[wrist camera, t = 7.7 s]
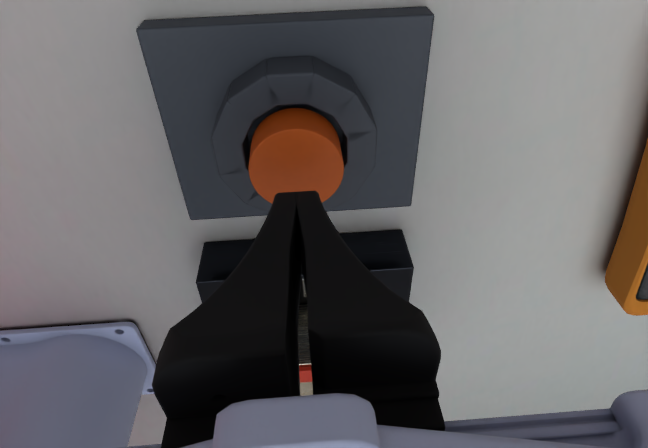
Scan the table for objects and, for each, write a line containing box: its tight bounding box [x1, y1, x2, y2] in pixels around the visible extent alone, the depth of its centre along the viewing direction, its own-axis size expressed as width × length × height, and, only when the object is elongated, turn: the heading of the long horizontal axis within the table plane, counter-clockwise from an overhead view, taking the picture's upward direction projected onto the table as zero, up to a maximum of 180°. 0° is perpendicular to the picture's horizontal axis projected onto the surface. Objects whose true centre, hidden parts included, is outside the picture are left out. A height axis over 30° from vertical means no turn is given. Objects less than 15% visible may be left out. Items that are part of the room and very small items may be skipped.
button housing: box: [136, 7, 434, 220], centre depth 19 cm, size 11×9×3 cm
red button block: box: [298, 305, 313, 396], centre depth 24 cm, size 5×2×4 cm, turn 1°
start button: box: [249, 108, 344, 203], centre depth 17 cm, size 4×4×2 cm
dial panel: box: [196, 230, 414, 305], centre depth 26 cm, size 11×9×3 cm
